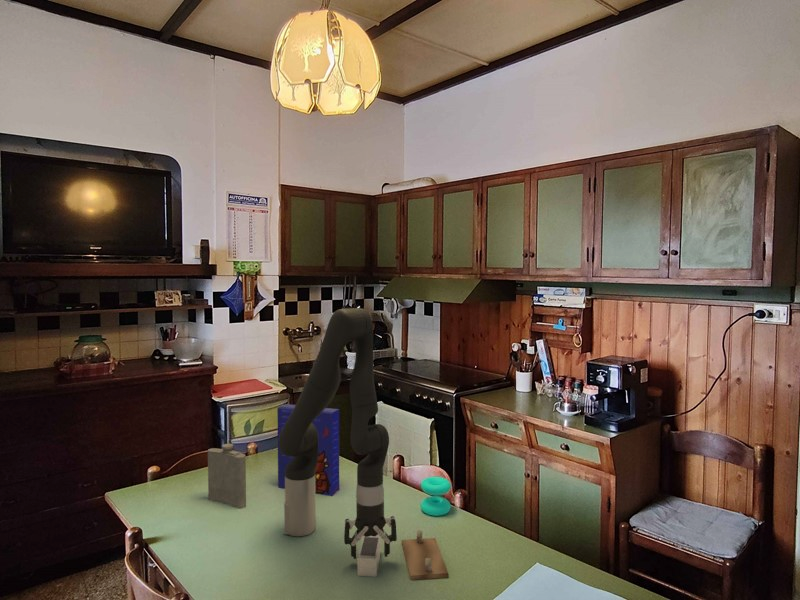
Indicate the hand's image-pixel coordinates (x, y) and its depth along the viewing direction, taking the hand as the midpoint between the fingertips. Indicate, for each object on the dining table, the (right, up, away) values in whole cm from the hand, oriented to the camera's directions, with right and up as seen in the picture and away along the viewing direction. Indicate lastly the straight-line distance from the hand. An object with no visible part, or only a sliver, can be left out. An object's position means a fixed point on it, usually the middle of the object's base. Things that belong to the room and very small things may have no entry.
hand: (370, 556), depth 144 cm
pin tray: (+15, -2, +2) cm, 15 cm away
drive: (0, -2, 0) cm, 2 cm away
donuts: (+20, 0, +32) cm, 38 cm away
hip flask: (-51, 0, +37) cm, 63 cm away
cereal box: (-25, +1, +48) cm, 55 cm away
